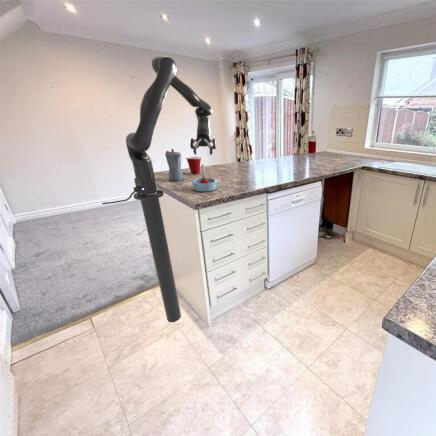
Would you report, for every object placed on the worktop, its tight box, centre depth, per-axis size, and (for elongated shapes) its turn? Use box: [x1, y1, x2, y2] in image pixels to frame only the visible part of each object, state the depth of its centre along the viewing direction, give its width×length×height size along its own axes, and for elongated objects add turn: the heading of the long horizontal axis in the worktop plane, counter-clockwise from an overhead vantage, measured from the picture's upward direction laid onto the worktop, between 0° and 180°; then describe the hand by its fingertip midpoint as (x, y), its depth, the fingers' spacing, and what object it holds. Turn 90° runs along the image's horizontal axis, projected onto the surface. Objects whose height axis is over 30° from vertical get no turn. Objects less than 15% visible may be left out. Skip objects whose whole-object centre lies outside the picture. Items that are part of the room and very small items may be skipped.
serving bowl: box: [191, 177, 218, 193], centre depth 146 cm, size 14×14×5 cm
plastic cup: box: [185, 156, 202, 175], centre depth 179 cm, size 11×11×12 cm
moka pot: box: [164, 148, 184, 182], centre depth 160 cm, size 10×15×20 cm, turn 58°
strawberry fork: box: [200, 163, 209, 184], centre depth 144 cm, size 5×5×14 cm
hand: (203, 154), depth 145 cm, fingers open, 8 cm apart
